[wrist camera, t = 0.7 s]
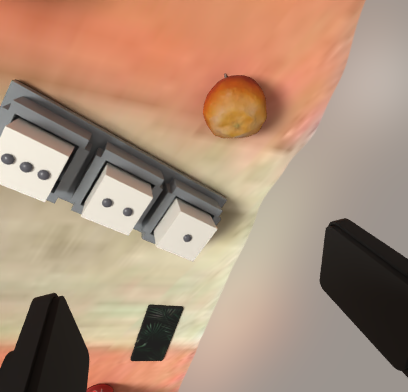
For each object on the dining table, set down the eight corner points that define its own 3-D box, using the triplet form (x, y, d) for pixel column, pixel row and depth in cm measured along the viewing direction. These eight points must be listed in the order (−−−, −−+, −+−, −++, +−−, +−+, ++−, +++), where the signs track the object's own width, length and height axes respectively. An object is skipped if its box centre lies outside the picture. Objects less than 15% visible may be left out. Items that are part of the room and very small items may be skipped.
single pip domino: (175, 197, 38) (181, 212, 35) (209, 214, 41) (217, 229, 37) (153, 230, 40) (156, 247, 36) (187, 244, 43) (193, 262, 39)
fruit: (274, 73, 37) (285, 113, 32) (241, 116, 42) (247, 156, 38) (220, 46, 34) (223, 86, 29) (193, 97, 39) (192, 137, 35)
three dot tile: (19, 117, 30) (4, 126, 26) (75, 145, 32) (68, 157, 29) (-2, 163, 31) (-19, 177, 28) (53, 187, 34) (44, 203, 30)
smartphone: (183, 308, 53) (162, 361, 58) (183, 304, 54) (162, 357, 59) (148, 306, 51) (129, 361, 56) (148, 302, 52) (129, 357, 57)
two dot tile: (107, 162, 34) (105, 175, 30) (150, 184, 37) (153, 198, 33) (85, 200, 36) (80, 217, 32) (128, 219, 38) (128, 236, 35)
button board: (15, 79, 31) (-1, 83, 27) (224, 196, 45) (234, 210, 41) (-20, 159, 34) (-39, 173, 30) (187, 247, 48) (192, 264, 44)
